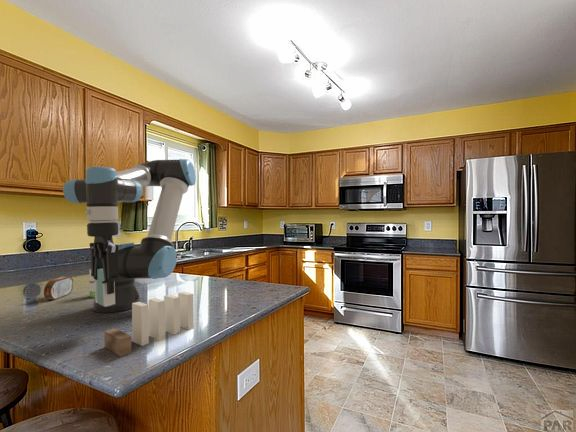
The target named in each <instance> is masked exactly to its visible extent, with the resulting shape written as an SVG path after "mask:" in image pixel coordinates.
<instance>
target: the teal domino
mask: <svg viewBox="0 0 576 432" xmlns="http://www.w3.org/2000/svg"><path fill="white" fill-rule="evenodd" d="M97 278H98V304H100V305H102V306H104V299H103V283H102V281H105V280H104V273H103V268H102V269H97ZM109 306H111V305H109ZM105 307H107V306H105Z"/></svg>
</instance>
